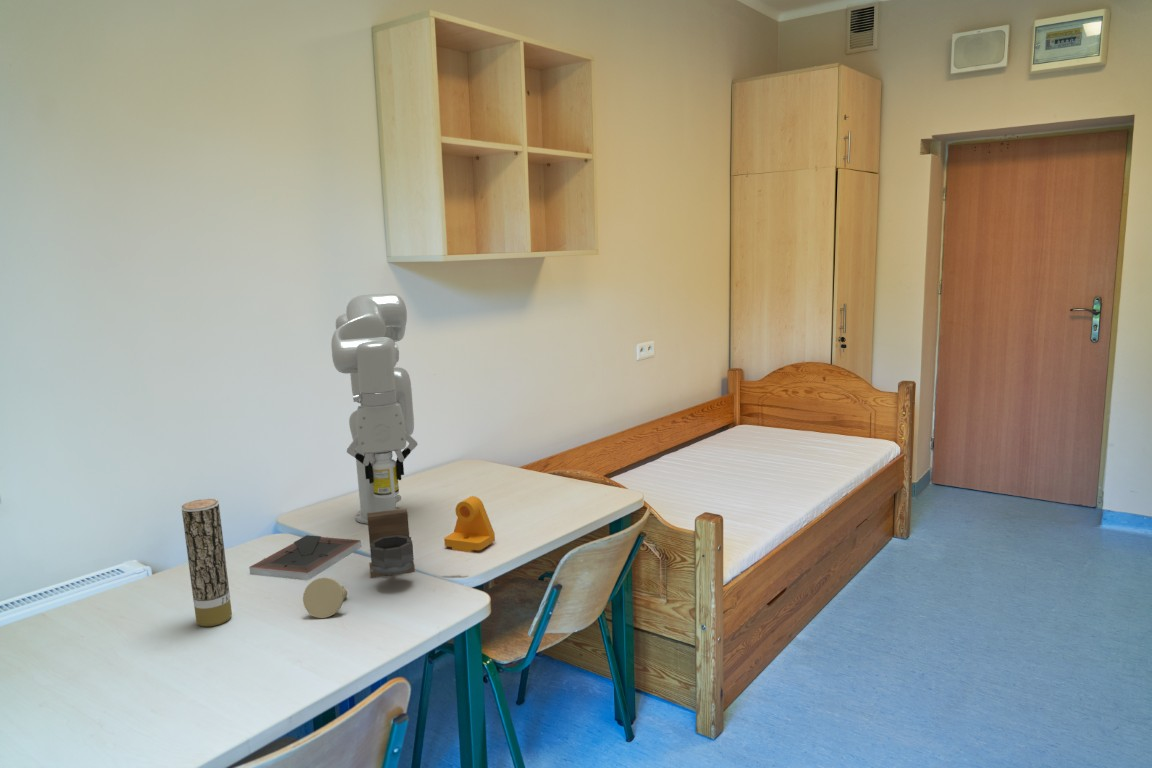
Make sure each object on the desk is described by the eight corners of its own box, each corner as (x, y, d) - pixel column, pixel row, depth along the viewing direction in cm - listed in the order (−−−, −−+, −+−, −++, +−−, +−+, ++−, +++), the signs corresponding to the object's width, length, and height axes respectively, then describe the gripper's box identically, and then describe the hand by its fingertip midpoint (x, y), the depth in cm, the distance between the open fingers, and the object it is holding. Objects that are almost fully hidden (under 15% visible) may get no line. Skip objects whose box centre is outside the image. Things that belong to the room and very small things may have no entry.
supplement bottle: (390, 489, 180) (387, 447, 178) (403, 494, 176) (400, 450, 174) (369, 495, 176) (365, 452, 174) (382, 500, 172) (378, 455, 170)
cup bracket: (369, 568, 190) (364, 511, 187) (412, 562, 192) (408, 506, 190) (372, 596, 173) (366, 535, 171) (419, 589, 176) (414, 528, 174)
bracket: (443, 549, 200) (439, 502, 199) (459, 539, 207) (455, 494, 205) (480, 553, 196) (477, 506, 194) (495, 543, 203) (492, 498, 201)
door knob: (315, 575, 174) (352, 573, 175) (316, 613, 173) (353, 610, 174) (302, 579, 165) (342, 576, 165) (303, 619, 163) (342, 616, 164)
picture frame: (307, 544, 210) (250, 576, 190) (306, 534, 210) (249, 566, 189) (361, 548, 205) (308, 582, 184) (361, 539, 204) (307, 572, 184)
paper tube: (197, 631, 161) (181, 511, 157) (195, 618, 167) (180, 502, 163) (233, 622, 164) (219, 505, 160) (231, 610, 170) (217, 496, 166)
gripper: (336, 405, 167) (344, 489, 169) (420, 398, 171) (426, 480, 174) (337, 399, 174) (344, 480, 177) (417, 392, 178) (423, 471, 181)
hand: (385, 479), depth 175 cm, fingers closed on supplement bottle, 5 cm apart
